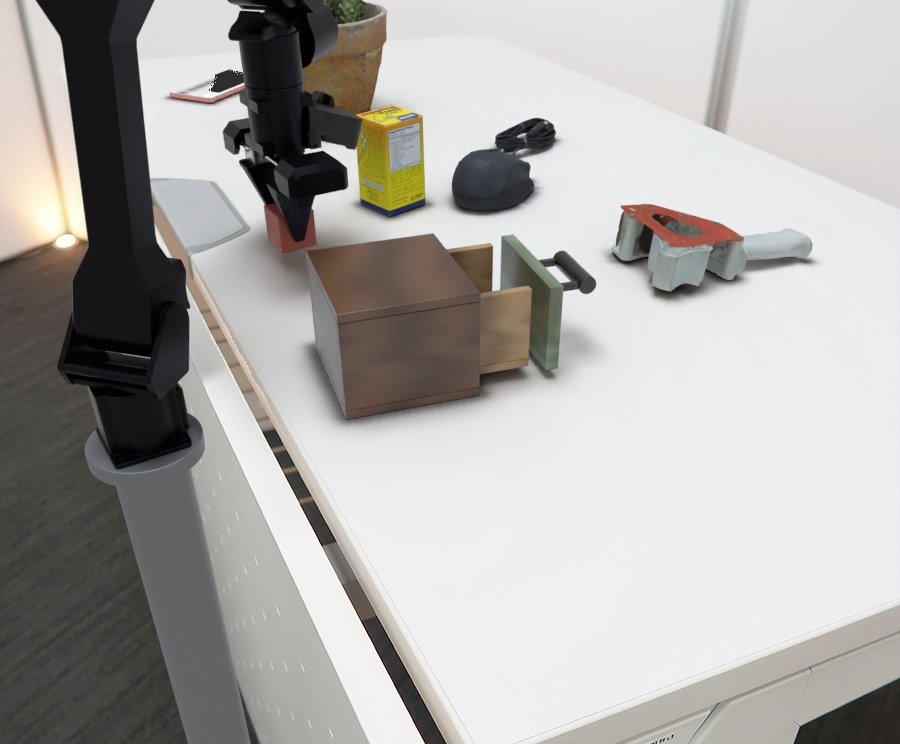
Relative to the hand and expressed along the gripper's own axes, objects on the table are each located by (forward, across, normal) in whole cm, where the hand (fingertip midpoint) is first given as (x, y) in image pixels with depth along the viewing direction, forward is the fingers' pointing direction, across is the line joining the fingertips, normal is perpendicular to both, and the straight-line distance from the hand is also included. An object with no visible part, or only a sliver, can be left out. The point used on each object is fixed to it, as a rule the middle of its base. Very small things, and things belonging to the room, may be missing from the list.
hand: (291, 234), depth 99 cm
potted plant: (+3, +44, -25) cm, 51 cm away
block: (+1, 0, 0) cm, 1 cm away
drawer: (+2, -28, -8) cm, 30 cm away
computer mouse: (+3, +11, -36) cm, 38 cm away
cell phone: (+3, +72, -18) cm, 74 cm away
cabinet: (+3, -26, +2) cm, 26 cm away
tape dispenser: (+3, -25, -36) cm, 44 cm away
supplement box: (+3, +9, -17) cm, 19 cm away
